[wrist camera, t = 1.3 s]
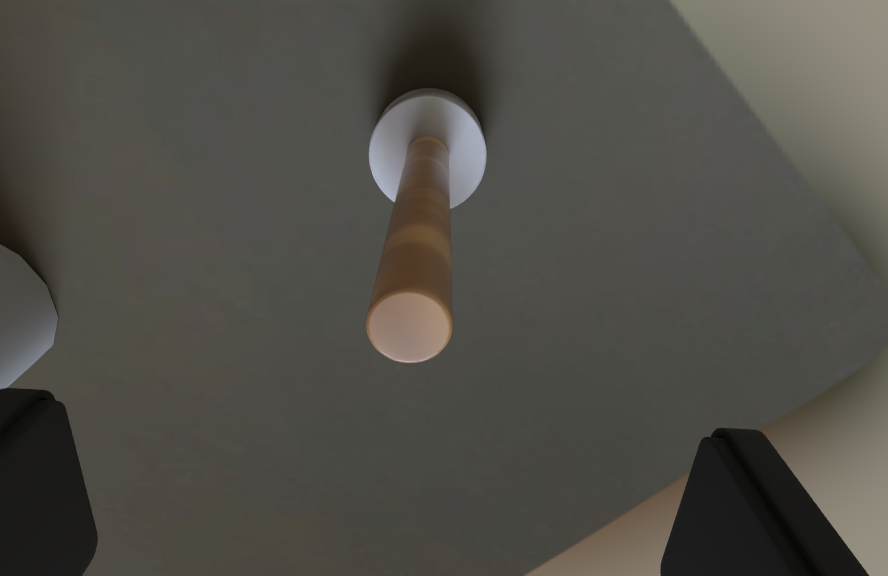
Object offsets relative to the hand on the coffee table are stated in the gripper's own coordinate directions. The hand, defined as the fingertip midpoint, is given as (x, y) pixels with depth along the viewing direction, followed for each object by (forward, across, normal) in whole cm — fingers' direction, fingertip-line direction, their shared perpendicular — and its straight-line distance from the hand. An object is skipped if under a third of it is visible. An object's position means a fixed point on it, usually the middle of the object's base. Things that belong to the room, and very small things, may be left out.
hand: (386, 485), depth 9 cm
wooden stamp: (+21, 0, -1) cm, 21 cm away
